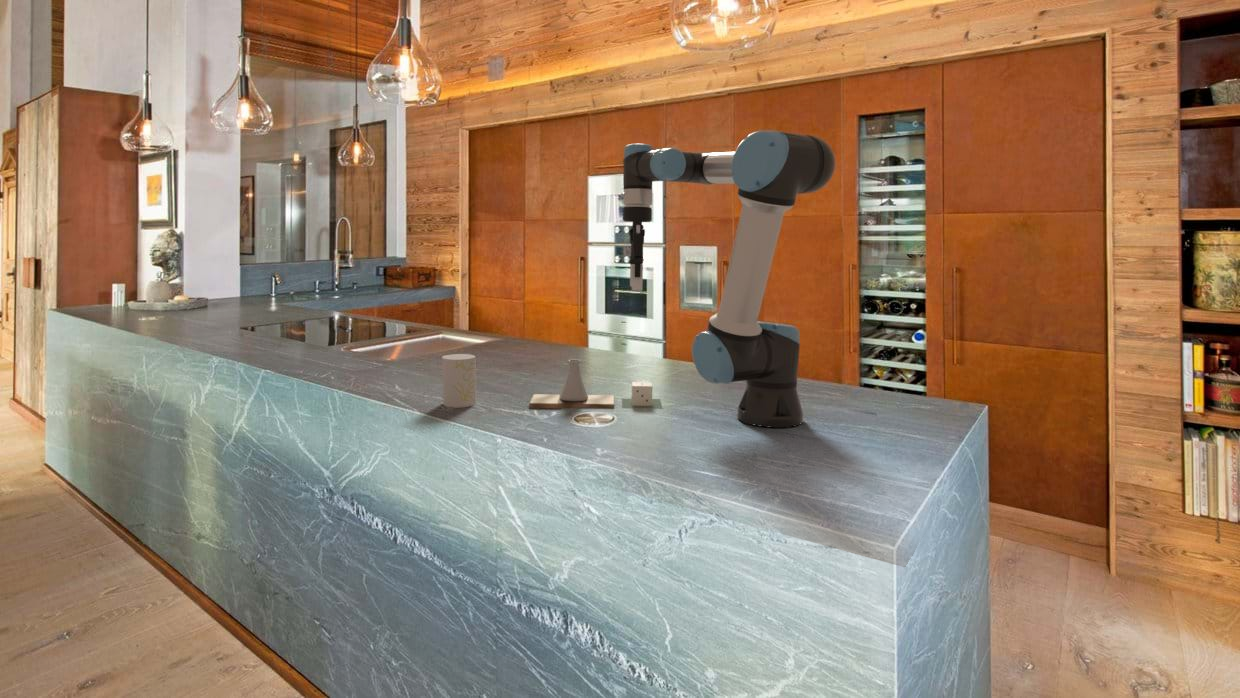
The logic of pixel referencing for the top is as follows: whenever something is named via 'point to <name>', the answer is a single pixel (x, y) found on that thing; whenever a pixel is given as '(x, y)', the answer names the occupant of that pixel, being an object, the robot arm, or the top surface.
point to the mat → (628, 404)
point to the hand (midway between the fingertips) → (635, 288)
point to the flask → (574, 384)
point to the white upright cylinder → (459, 380)
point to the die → (641, 394)
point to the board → (557, 402)
